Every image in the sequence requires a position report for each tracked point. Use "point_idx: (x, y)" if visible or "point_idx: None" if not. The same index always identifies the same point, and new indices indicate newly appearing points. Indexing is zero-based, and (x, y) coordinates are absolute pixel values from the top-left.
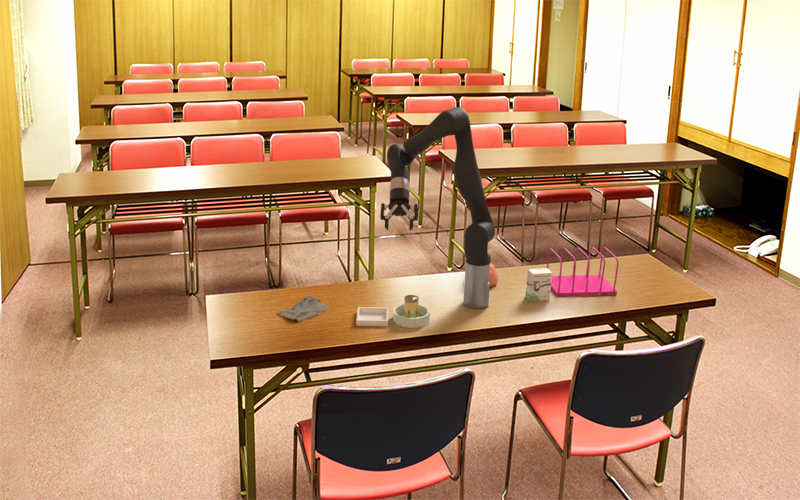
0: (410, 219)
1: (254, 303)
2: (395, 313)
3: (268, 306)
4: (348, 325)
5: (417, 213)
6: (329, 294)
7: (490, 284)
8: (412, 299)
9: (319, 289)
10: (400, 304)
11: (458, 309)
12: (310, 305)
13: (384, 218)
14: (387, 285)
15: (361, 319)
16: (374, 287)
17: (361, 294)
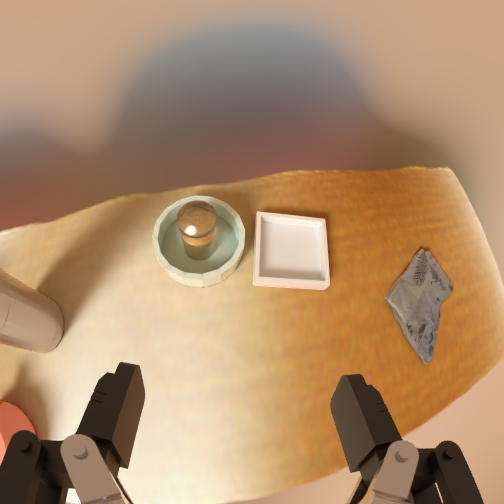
0: (102, 449)
1: (482, 324)
2: (239, 222)
3: (467, 314)
4: (335, 233)
5: (4, 471)
6: (391, 389)
7: (2, 401)
8: (195, 206)
9: (411, 412)
10: (223, 272)
11: (81, 299)
12: (419, 307)
13: (412, 449)
14: (250, 462)
15: (314, 250)
16: (287, 448)
17: (321, 401)
